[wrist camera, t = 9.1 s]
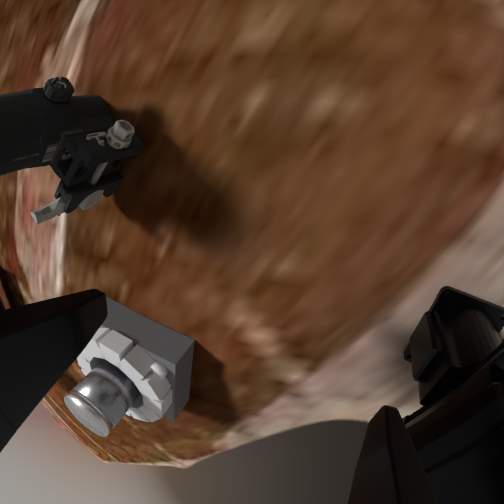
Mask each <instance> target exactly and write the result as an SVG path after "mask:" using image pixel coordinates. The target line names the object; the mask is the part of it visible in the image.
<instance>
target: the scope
mask: <svg viewBox="0 0 504 504" xmlns="http://www.w3.org/2000/svg"><path fill="white" fill-rule="evenodd" d="M73 92H74V88H73V86H72V84H71V82H69V80H68V79H67V78H64V77H60V78H58V77H56V78H52V79H49V80H48V81H47V82H46V83H45V87H43V88H34V89H27V90H25V91H20V92H14V93H8V94H2V95H0V175H4V174H7V173H10V172H14V171H17V170H21V169H26V168H33V167H39V166H47V165H50V166H51V168H52V169H53V171H54V172H55V173H56V175H57V176H58V177H59V178H60V179H61V181H60V183H59V186H58V188H57V190H56V193H55V198H56V200H55V201H53V202H52V203H50V204H49V205H47V206H45V207H44V208H41V209H39V210H36V211H33V212H31V215H32V217H33V218H34V220H35V221H36V223H37V224H39V223H41V222H44V221H46V220H49V219H51V218H53V217H55V216H56V215H58V216H60V215H61V213H64V212H65V213H67V214H68V213H70V212H72V211H74V210H75V209H76V208H77V207H78V206H79V207H80V208H81V209H82V210H88V209H90V208H92V207H93V206H94V205H95V204H96V203H97V202H98V201H99V199H100V197H101V196H102V190H104V192H103V195H104V196H105V197H109V196H111V195H112V194H113V193H114V192H115V191H116V189H117V188H118V186H119V185H120V183H121V182H122V180H123V178H122V177H118V176H117V175H116V174H115V172H117V171H119V169H120V167H121V166H122V164H123V163H124V161H125V160H126V158H127V157H130V156H134V155H139V153H140V152H141V150H142V149H143V148H144V144H143V142H142V141H141V140H140V139H139V138H138V137H137V135H136V134H135V131H134V127H133V126H132V125H131V124H130V123H129V122H127V121H125V120H119V121H116V123H115V122H114V121H113V120H112V119H111V117H110V116H109V113H108V108H107V105H106V103H105V101H104V100H103V99H102V98H101V97H100V96H97V95H84V96H72V94H73ZM120 123H121V124H120Z"/></svg>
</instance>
